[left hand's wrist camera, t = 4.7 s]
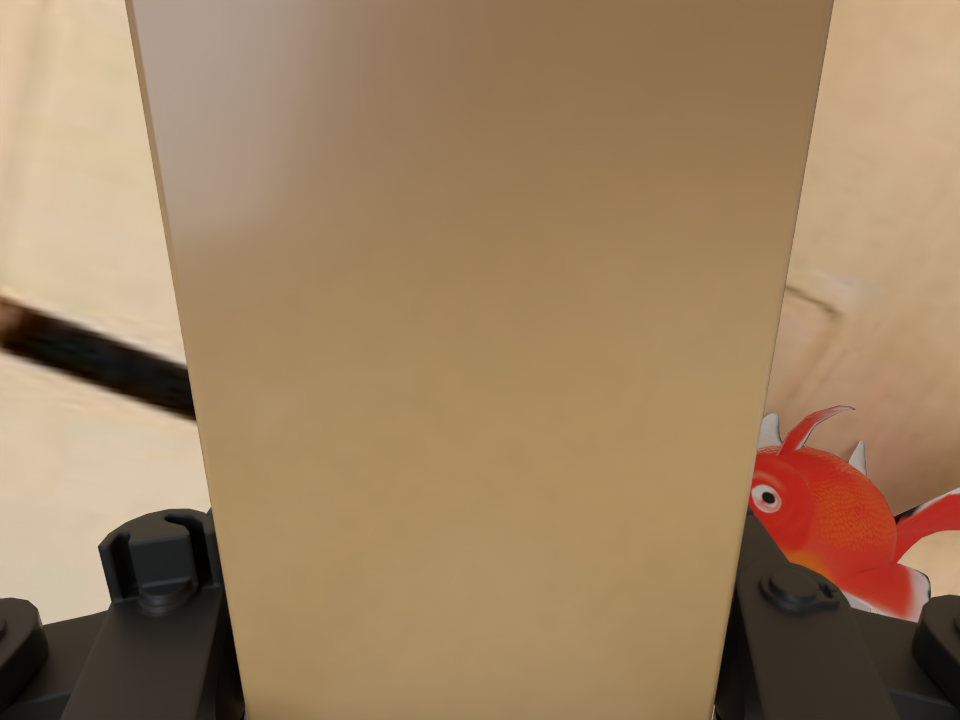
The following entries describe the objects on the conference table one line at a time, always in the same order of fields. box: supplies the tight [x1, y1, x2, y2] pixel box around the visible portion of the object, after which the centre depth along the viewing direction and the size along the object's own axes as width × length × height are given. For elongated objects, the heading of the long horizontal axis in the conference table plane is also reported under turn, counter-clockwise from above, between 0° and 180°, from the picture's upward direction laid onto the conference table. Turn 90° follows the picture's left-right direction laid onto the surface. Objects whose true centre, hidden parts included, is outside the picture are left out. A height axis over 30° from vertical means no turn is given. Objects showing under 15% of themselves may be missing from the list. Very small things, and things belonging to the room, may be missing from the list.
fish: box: [748, 406, 960, 623], centre depth 24 cm, size 11×16×10 cm
